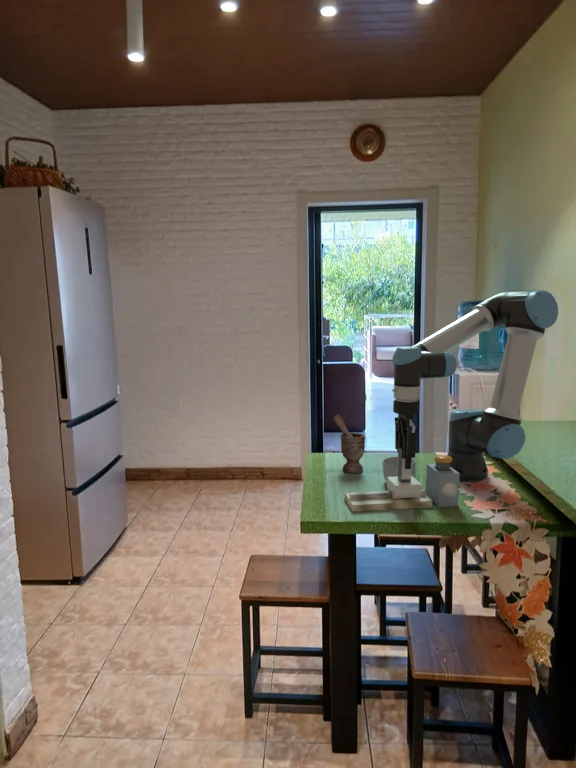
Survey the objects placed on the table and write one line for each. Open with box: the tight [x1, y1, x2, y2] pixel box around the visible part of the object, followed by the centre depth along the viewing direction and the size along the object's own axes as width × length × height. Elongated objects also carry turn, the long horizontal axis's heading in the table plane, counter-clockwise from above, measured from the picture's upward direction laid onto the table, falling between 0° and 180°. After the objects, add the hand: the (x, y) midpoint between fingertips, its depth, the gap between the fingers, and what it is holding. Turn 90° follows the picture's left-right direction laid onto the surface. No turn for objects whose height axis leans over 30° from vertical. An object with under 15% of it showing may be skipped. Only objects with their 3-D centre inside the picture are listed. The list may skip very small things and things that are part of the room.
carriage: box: [386, 447, 423, 498], centre depth 158 cm, size 8×8×14 cm
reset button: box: [433, 454, 452, 471], centre depth 160 cm, size 5×5×7 cm
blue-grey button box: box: [425, 463, 460, 508], centre depth 160 cm, size 6×10×10 cm, turn 7°
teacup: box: [381, 456, 417, 482], centre depth 178 cm, size 14×11×8 cm
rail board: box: [344, 488, 434, 513], centre depth 159 cm, size 24×10×4 cm, turn 97°
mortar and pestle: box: [332, 413, 366, 474], centre depth 190 cm, size 12×9×20 cm
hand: (404, 476), depth 159 cm, fingers closed on carriage, 3 cm apart
